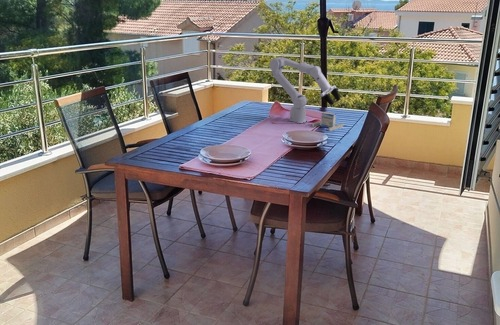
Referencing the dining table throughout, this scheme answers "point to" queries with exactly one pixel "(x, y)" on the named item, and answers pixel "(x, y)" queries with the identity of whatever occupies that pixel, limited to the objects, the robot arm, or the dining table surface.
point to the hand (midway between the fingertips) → (335, 102)
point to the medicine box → (328, 119)
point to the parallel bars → (329, 127)
